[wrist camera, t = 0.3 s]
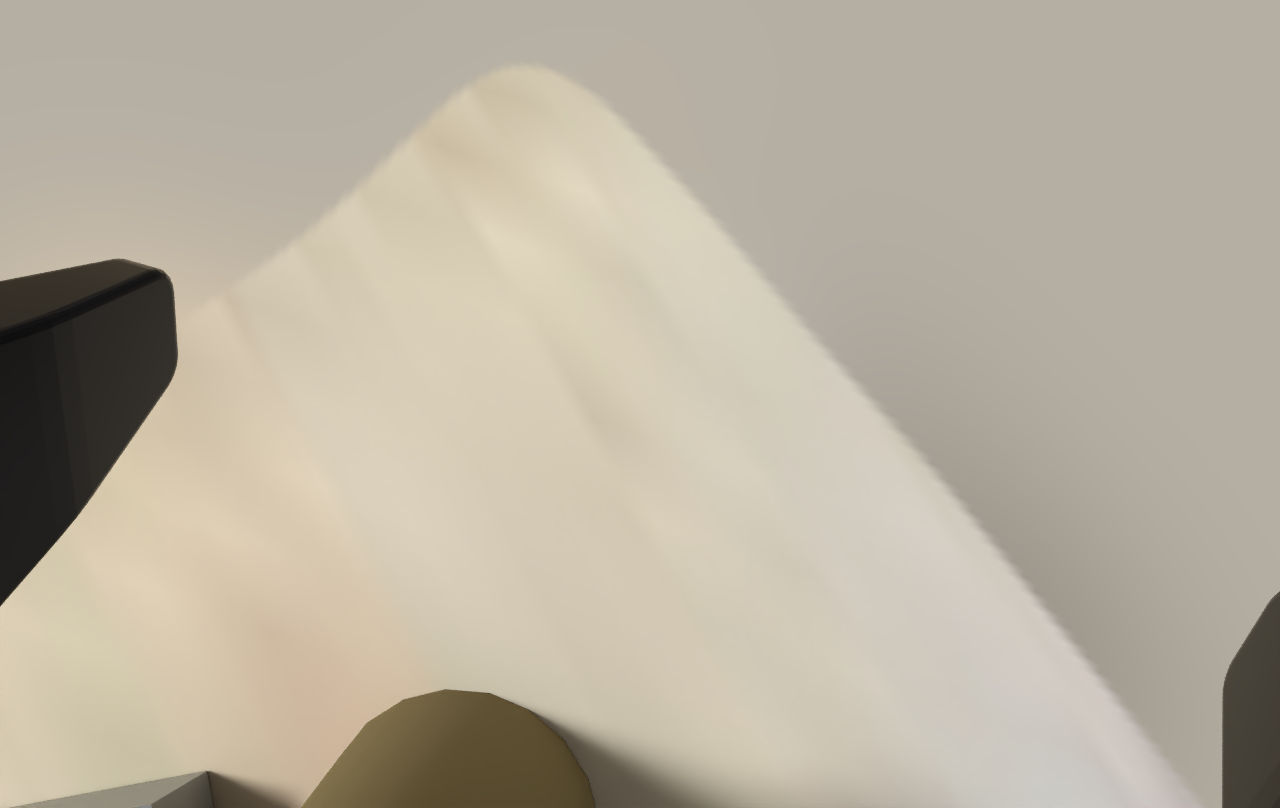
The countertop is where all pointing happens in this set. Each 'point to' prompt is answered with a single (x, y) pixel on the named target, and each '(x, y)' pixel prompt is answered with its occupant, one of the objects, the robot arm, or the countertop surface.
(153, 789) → the grey tray
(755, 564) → the countertop surface
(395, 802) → the cork
